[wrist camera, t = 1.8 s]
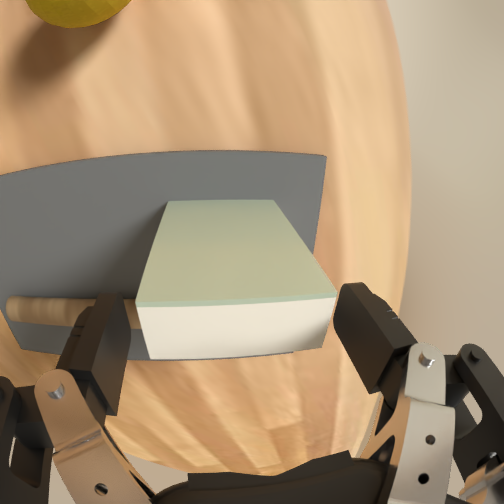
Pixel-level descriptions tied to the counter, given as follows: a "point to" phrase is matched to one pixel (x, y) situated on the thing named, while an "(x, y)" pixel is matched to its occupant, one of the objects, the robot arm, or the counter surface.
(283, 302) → the tile
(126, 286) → the mat
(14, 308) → the dowel
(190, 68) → the counter surface
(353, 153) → the counter surface
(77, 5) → the lemon
